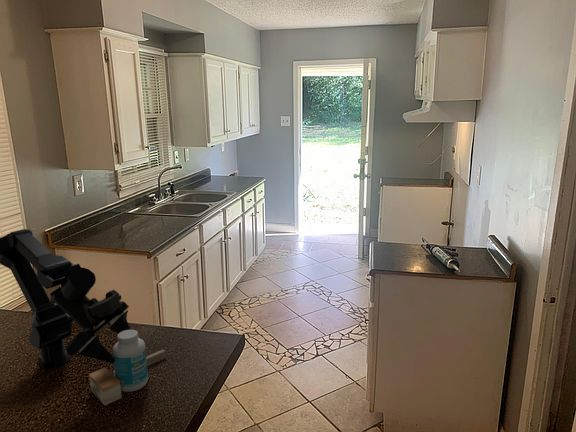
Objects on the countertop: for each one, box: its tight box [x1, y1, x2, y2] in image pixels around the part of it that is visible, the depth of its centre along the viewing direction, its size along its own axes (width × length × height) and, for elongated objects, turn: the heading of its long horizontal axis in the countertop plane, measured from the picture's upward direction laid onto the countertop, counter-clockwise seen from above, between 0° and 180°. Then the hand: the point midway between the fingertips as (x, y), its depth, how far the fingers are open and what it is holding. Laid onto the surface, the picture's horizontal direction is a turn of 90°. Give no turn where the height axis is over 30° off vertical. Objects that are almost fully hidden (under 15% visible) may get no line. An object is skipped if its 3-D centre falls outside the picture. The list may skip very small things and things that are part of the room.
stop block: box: [88, 366, 123, 406], centre depth 103 cm, size 8×4×4 cm, turn 45°
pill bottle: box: [112, 329, 149, 393], centre depth 106 cm, size 8×7×14 cm
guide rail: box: [112, 349, 167, 376], centre depth 114 cm, size 1×14×2 cm, turn 135°
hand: (124, 351), depth 106 cm, fingers open, 9 cm apart
